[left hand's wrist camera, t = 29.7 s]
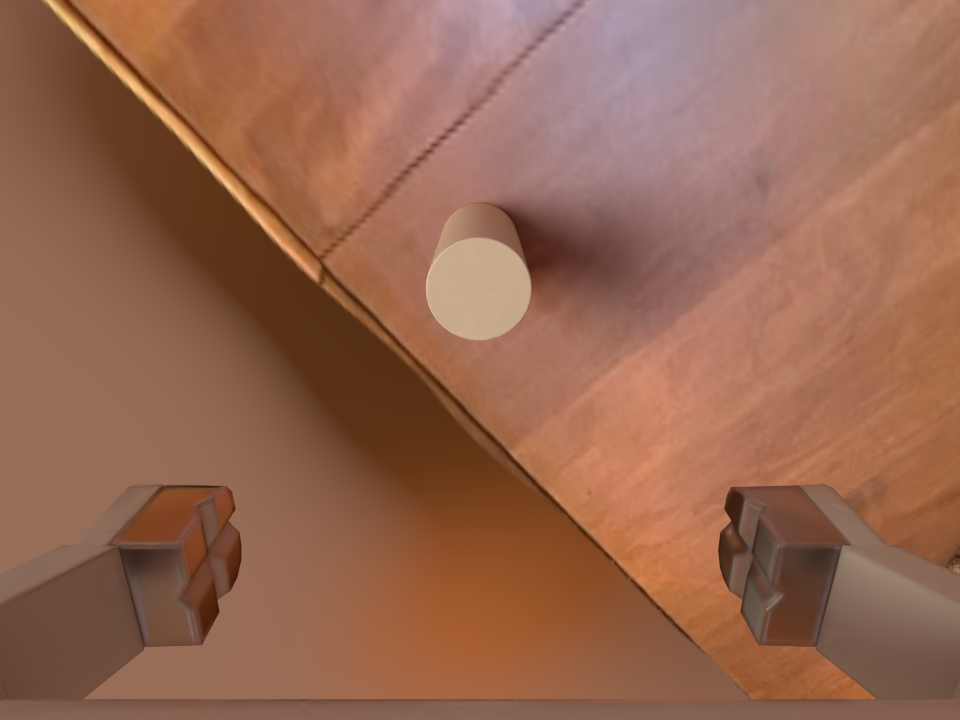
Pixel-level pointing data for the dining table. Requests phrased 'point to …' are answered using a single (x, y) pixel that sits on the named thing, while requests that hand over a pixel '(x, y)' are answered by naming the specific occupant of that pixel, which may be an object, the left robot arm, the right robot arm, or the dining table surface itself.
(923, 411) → the dining table surface
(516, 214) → the dining table surface
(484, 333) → the canister
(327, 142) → the dining table surface
